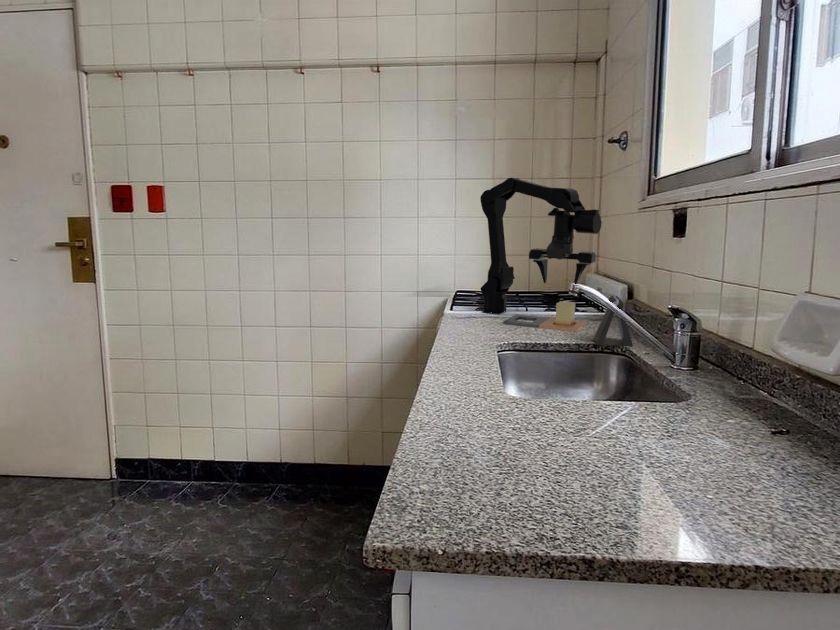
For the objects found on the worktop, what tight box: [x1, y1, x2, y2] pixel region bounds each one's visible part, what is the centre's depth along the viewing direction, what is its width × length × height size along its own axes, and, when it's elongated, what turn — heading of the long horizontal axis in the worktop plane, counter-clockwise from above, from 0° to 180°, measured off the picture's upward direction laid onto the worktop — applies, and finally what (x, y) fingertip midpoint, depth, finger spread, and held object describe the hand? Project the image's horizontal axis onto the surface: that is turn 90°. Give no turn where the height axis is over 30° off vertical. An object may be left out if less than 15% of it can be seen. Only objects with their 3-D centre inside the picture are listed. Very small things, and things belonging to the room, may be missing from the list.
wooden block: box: [555, 300, 576, 326], centre depth 164 cm, size 4×4×7 cm
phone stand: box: [593, 295, 634, 348], centre depth 144 cm, size 9×6×12 cm, turn 78°
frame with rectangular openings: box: [502, 314, 588, 333], centre depth 167 cm, size 22×12×1 cm, turn 61°
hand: (559, 284), depth 168 cm, fingers open, 9 cm apart
